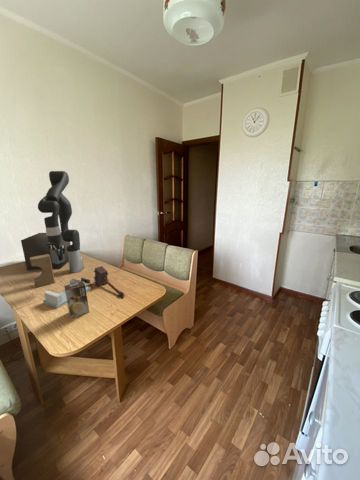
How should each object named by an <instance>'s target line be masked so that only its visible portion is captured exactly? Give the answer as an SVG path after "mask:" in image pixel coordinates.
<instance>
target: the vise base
mask: <svg viewBox="0 0 360 480" xmlns="http://www.w3.org/2000/svg"><path fill="white" fill-rule="evenodd" d="M90 291H91V287H90V286H87V285H86V293H87V292H90ZM43 294H44V298H45V299H44V300H42V301H43V304H44V305H47V306H49V307H53V308H56V309H59V308H61V307H62V306H65V305H66V304H67V298H66V293H65V289H64V290H62V291H60V292H58V293H57V292H53V291H51V290H46V291H44V293H43Z"/></svg>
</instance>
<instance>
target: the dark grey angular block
mask: <svg viewBox="0 0 360 480" xmlns="http://www.w3.org/2000/svg"><path fill="white" fill-rule="evenodd" d="M61 237H62V235H61ZM20 242H21V248H22V251H23V252H22V253H23V256H24V257H23V258H24V261H25V267H26V270H27V271H37V270H39V271H42V269H41V268H40V267H37V266H31V264H30V259H29V258H30V257H35V256H40V255H46V254H49V255H50V258H51V253H50V252H49V249H48V246H47V244H48V243H49V242H48V240H47V235H46V232H38V233H35V234H33V235H30V236H28V237H26V238H25V237H24V239H21V240H20ZM61 245H65V254H64V258H65V262H62V263H59V264H55V263H52V258H51V264H52V269H53V270H61V269H62V268H63V267H64V266H66V264H69V262H68V255H67V249H66V248H67V247H68V246H70V245H72V243H71V242H66V241H64V240H63V239H62V240H61Z"/></svg>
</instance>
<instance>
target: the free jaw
mask: <svg viewBox="0 0 360 480" xmlns="http://www.w3.org/2000/svg"><path fill="white" fill-rule="evenodd" d="M81 281H83V283H84V284H85V287H86V286H87V285H89V284H91V279H88V278H85V277H81V278H80V280H79V279H76V278H72V279H70V280H69V284H73V283H77V282H81ZM86 284H87V285H86Z"/></svg>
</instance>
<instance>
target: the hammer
mask: <svg viewBox="0 0 360 480" xmlns="http://www.w3.org/2000/svg"><path fill="white" fill-rule="evenodd" d="M93 272H94V277H93V279H94V282H95V283H96V284H97V285H98V286H99V287H100V286H102V285H105V284H107V285H108V286H109V287H110V288H111V289H113V290H114V291H115V292H116V293H117V295H118V296H119V297H120V298H125V296H126V295H125V293H124V292H123V291H122V290H119V289H118V288H117V287H115V286H114V285H113V284H112V283H111V282H110V280H109V279H108V275H109V272H108V270H107V269H106V268H104V266H98V267H95V268H94V270H93Z"/></svg>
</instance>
